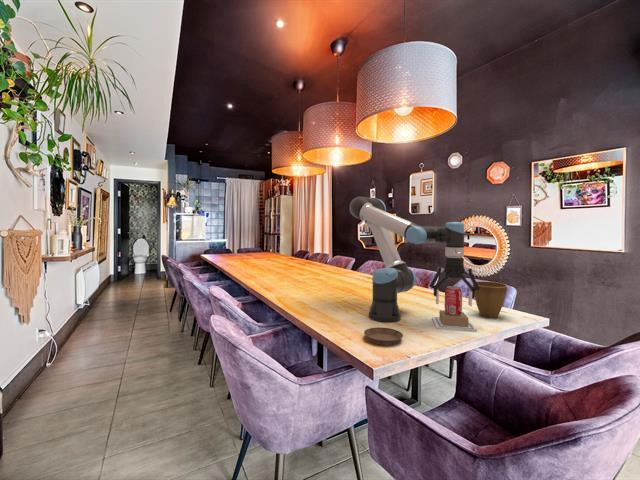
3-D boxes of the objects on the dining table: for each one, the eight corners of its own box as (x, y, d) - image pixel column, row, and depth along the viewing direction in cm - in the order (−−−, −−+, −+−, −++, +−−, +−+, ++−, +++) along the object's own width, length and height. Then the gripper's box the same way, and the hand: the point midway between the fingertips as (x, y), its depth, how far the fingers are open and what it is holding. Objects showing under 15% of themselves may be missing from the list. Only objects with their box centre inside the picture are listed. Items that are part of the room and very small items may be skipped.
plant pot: (468, 311, 154) (468, 280, 154) (499, 312, 151) (500, 281, 151) (477, 319, 140) (477, 286, 139) (511, 321, 137) (512, 287, 136)
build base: (436, 328, 127) (436, 317, 127) (431, 319, 140) (432, 308, 140) (477, 331, 123) (477, 319, 123) (468, 321, 137) (468, 310, 137)
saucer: (375, 330, 125) (375, 324, 125) (409, 339, 115) (409, 332, 115) (356, 340, 114) (356, 333, 113) (392, 351, 104) (392, 343, 104)
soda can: (458, 312, 135) (458, 285, 134) (464, 316, 128) (465, 289, 127) (442, 311, 135) (442, 285, 135) (447, 316, 128) (448, 288, 128)
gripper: (425, 257, 130) (424, 304, 131) (488, 258, 124) (487, 308, 125) (423, 255, 137) (423, 300, 138) (482, 256, 131) (481, 304, 132)
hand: (453, 304), depth 131 cm, fingers open, 13 cm apart
